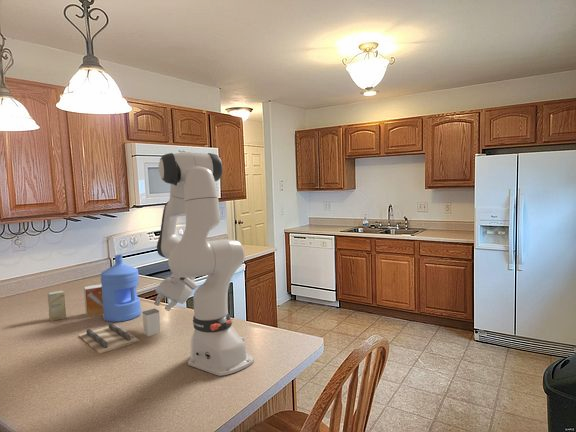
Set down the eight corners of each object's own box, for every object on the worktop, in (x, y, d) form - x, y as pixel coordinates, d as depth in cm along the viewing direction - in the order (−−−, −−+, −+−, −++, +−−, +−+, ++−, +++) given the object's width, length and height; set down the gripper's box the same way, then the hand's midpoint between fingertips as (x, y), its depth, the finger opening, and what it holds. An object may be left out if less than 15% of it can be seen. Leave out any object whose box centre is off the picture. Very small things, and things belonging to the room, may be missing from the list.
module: (160, 332, 152) (159, 310, 151) (148, 336, 149) (146, 313, 148) (156, 330, 155) (154, 308, 154) (143, 333, 152) (142, 311, 151)
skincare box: (50, 321, 170) (48, 294, 169) (49, 319, 174) (46, 292, 173) (66, 317, 174) (64, 291, 173) (65, 315, 178) (62, 289, 177)
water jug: (95, 321, 168) (90, 258, 166) (121, 309, 183) (116, 251, 181) (125, 323, 164) (120, 259, 161) (148, 311, 179) (144, 252, 176)
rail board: (139, 341, 144) (138, 334, 144) (99, 353, 135) (99, 346, 134) (115, 326, 161) (114, 320, 161) (78, 336, 152) (78, 329, 152)
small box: (87, 317, 174) (84, 289, 173) (85, 313, 179) (83, 286, 178) (106, 313, 178) (104, 286, 177) (104, 310, 184) (102, 283, 182)
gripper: (164, 271, 166) (144, 298, 160) (188, 278, 151) (167, 308, 145) (174, 279, 169) (155, 306, 163) (199, 287, 155) (178, 317, 149)
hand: (161, 307), depth 154 cm, fingers open, 8 cm apart
